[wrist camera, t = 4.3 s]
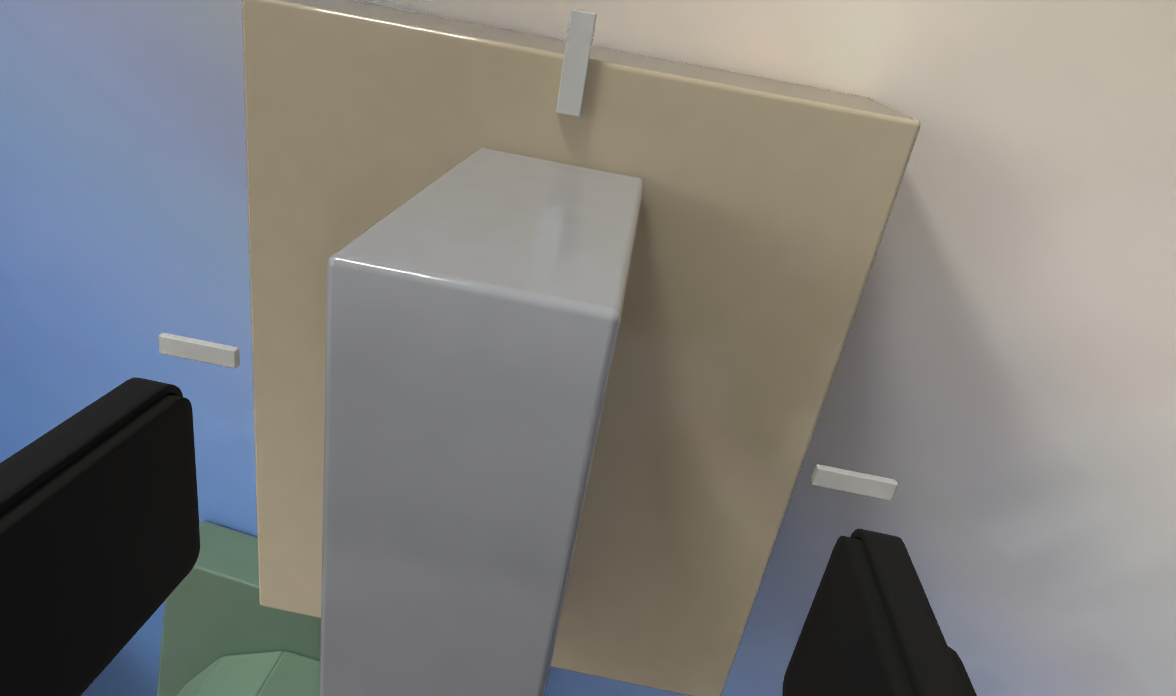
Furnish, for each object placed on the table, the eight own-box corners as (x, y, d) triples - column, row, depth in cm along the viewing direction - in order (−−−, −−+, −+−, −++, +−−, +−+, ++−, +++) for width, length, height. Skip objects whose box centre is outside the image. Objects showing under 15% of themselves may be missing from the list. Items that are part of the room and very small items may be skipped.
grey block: (477, 145, 11) (310, 264, 6) (646, 178, 11) (621, 324, 6) (432, 590, 15) (305, 894, 10) (557, 616, 15) (496, 936, 10)
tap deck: (240, -58, 13) (121, -76, 10) (976, 79, 13) (1060, 100, 10) (257, 525, 19) (183, 617, 16) (770, 631, 19) (788, 745, 16)
